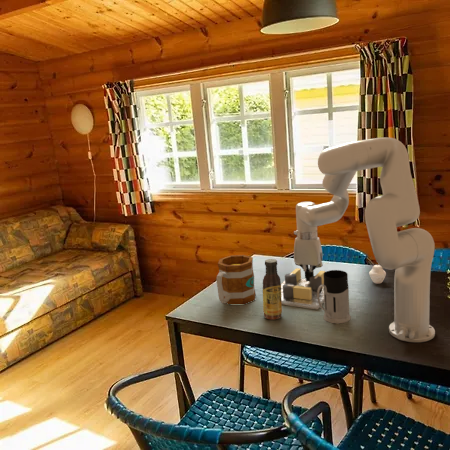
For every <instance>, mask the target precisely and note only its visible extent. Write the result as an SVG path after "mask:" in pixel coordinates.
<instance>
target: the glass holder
mask: <svg viewBox="0 0 450 450" xmlns="http://www.w3.org/2000/svg"><path fill="white" fill-rule="evenodd" d="M348 275H349V274H348V272H347V271H344V270H341V269H340V270H339V269H332V270H328V271H327V270H326V271H325V273H324V285H320V286H319V288H318V290H317V299H318V303H319V306H320V308H319V309H322V310H323V312H324V314H323V320H324V321H326V322H328V323H332V324H344V323H347V322H349V321H350V320H351V319H352V316H351V314H350V299H349V298H350V296H349V295H350V293H349V292H350V290H349V289H350V288H349V281H348ZM322 286H324V303H323V304H324V305H323V304H322V305H321V303H320V298H319V292H320V289H321V287H322Z"/></svg>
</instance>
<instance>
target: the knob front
mask: <svg viewBox="0 0 450 450" xmlns="http://www.w3.org/2000/svg"><path fill="white" fill-rule="evenodd" d="M283 297H284V298H287V299H291V298H298V299H306V300H311V299H312V291H311V288H310V287H302V286H295V285H294V284H284V285H283Z"/></svg>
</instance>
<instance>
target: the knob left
mask: <svg viewBox="0 0 450 450" xmlns="http://www.w3.org/2000/svg"><path fill="white" fill-rule="evenodd" d="M300 279H302V268H298V267H296V268H295V269H293V271H291V272H290V273H286V274H284V281H285V284H294V285H295V286H296V285H297V282H298V281H299V280H300Z"/></svg>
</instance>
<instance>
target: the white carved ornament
mask: <svg viewBox="0 0 450 450" xmlns="http://www.w3.org/2000/svg"><path fill="white" fill-rule="evenodd" d="M368 275H369V277H370V279H371V281H372V282H373V284H382V283H383V281H384V280H385V278H386V275H387V272H386V271H385V270H384V268H383V267H381V266H380V265H379V264H374V265H373V266H372V268H371V270H370V271H369V272H368Z"/></svg>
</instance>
